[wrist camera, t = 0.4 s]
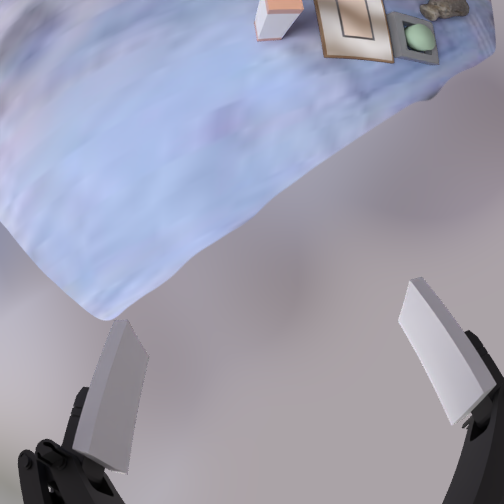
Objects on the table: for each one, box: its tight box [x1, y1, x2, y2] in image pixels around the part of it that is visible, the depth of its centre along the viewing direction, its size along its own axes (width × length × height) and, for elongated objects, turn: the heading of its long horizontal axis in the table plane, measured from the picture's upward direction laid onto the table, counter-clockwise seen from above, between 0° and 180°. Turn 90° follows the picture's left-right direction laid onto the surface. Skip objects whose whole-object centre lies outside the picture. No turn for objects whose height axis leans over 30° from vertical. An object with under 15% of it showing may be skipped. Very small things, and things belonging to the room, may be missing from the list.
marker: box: [254, 0, 304, 41], centre depth 19 cm, size 3×3×12 cm
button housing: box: [386, 12, 439, 65], centre depth 23 cm, size 7×7×2 cm
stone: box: [420, 0, 469, 21], centre depth 17 cm, size 10×5×8 cm
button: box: [404, 24, 435, 51], centre depth 22 cm, size 4×4×3 cm
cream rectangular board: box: [314, 0, 394, 63], centre depth 22 cm, size 14×10×1 cm
